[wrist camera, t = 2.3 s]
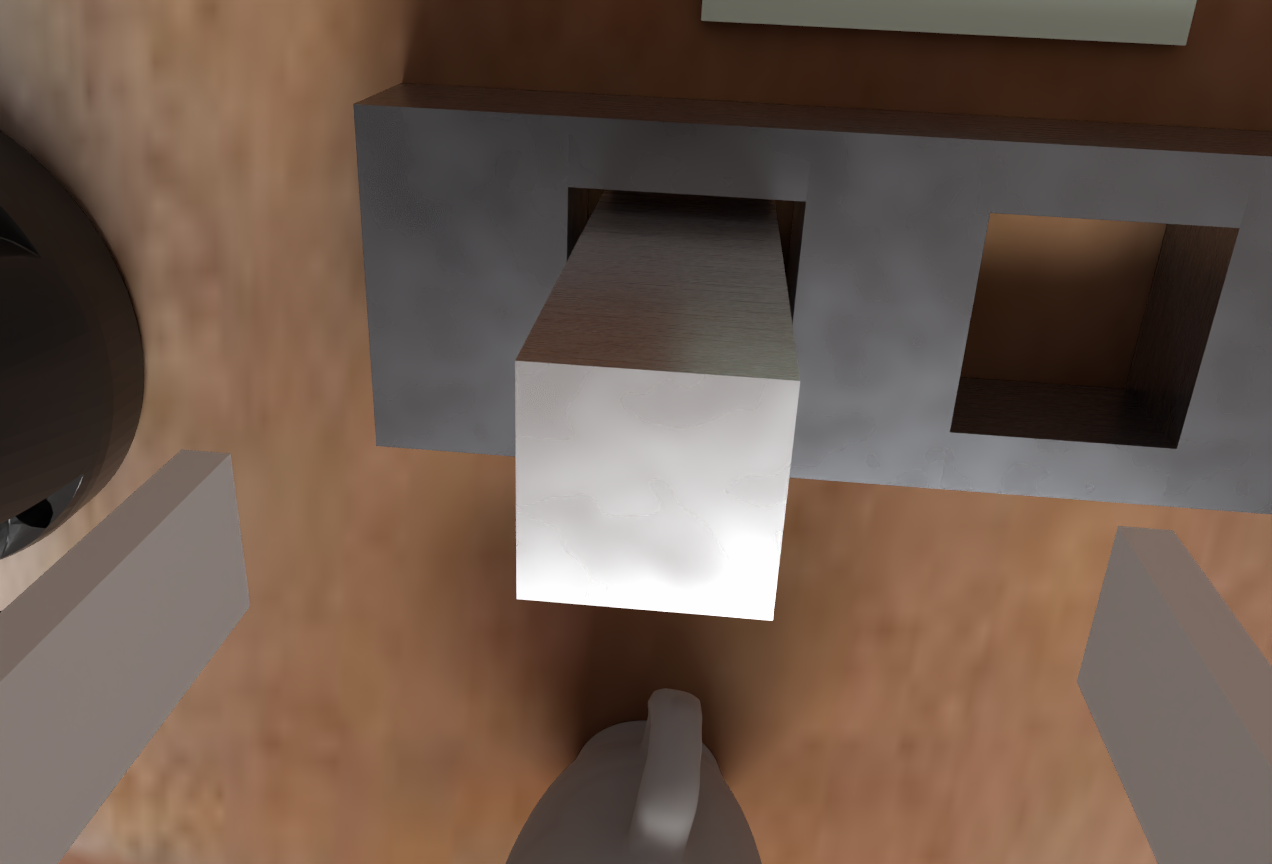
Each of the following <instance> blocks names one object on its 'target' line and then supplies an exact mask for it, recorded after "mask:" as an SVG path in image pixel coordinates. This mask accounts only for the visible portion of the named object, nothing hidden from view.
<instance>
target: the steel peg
mask: <svg viewBox="0 0 1272 864" xmlns="http://www.w3.org/2000/svg"><path fill="white" fill-rule="evenodd" d="M799 389H800V375H799V368H798V361H797V354H796V347H795V339H794V332H793V325H792V318H791V311H790V304H789V297H788V290H787V283H786V276H785V269H784V262H783V255H782V248H781V241H780V234H779V226H778V219H777V212H776V205H775V200H772V199H755V198H739V197H723V196H706V195H690V194H673V193H657V192H641V191H624V190H608V189H605V190H604V192H603V194H602V195H601V197H600V199H599V201H598V203H597V205H596V207H595V209H594V211H593V213H592V215H591V217H590V218H589V220H588V222H587V224H586V226H585V228H584V230H583V232H582V234H581V236H580V238H579V239H578V241H577V243H576V245H575V247H574V249H573V251H572V253H571V255H570V257H569V259H568V260H567V262H566V264H565V266H564V268H563V270H562V272H561V274H560V276H559V278H558V280H557V282H556V283H555V285H554V287H553V289H552V291H551V293H550V295H549V297H548V299H547V301H546V303H545V304H544V306H543V308H542V310H541V312H540V314H539V316H538V318H537V320H536V322H535V324H534V326H533V327H532V329H531V331H530V333H529V335H528V337H527V339H526V341H525V343H524V345H523V347H522V348H521V350H520V352H519V354H518V356H517V358H516V360H515V431H516V592H517V599H522V600H533V601H545V602H557V603H569V604H581V605H593V606H605V607H616V608H628V609H640V610H652V611H664V612H676V613H688V614H699V615H711V616H723V617H735V618H747V619H759V620H771V621H773V614H774V605H775V596H776V588H777V579H778V570H779V562H780V553H781V544H782V536H783V527H784V519H785V510H786V501H787V493H788V484H789V475H790V467H791V458H792V449H793V441H794V432H795V423H796V415H797V406H798V397H799Z"/></svg>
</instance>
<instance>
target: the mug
mask: <svg viewBox="0 0 1272 864" xmlns="http://www.w3.org/2000/svg"><path fill="white" fill-rule="evenodd" d="M506 864H762V863H761V860H760V856H759V853H758V850H757V847H756V843H755V840H754V838H753V835H752V832H751V830H750V827H749V825H748V822H747V820H746V818H745V816H744V814H743V811H742V809H741V807H740V805H739V804H738V802H737V800H736V798H735V796H734V795H733V793H732V791H731V790H730V788H729V787H728V785H727V784H726V782H725V781H724V779H723V777H722V775H721V772H720V769H719V766H718V764H717V761H716V759H715V758H714V756H713V754H712V753H711V752H710V750H709V749H708V748H707V747H706V746H705V745H704V744H703V743H702V711H701V705H700V700H699V699H698V698H696V697H695V696H694V695H692V694H691V693H688V692H684V691H680V690H674V689H667V688H663V689H660V690H656V691H654V692H653V694H652V695H651V697H650V699H649V701H648V719H647V721H644V720H639V721H629V722H623V723H619V724H616V725H613V726H610V727H608V728H606V729H604V730H602V731H600V732H599V733H597V734H596V735H594V736H593V737H592V738H591V739H590V740H589V741H588V742H587V743H586V744H585V745H584V747H583V748H582V749H581V751H580V753H579V755H578V756H577V758H576V759H575V760H574V761H573V762H572V763H571V764H570V765H569V766H568V767H567V768H566V769H565V770H564V771H563V772H562V773H561V774H560V775H559V776H558V778H557V779H556V780H555V781H554V782H553V783H552V784H551V786H550V787H549V788H548V790H547V791H546V792H545V794H544V795H543V796H542V798H541V799H540V800H539V802H538V803H537V805H536V806H535V808H534V809H533V811H532V813H531V814H530V816H529V818H528V820H527V821H526V823H525V825H524V827H523V828H522V830H521V832H520V834H519V836H518V838H517V840H516V842H515V844H514V846H513V848H512V850H511V853H510V855H509V857H508V859H507V862H506Z"/></svg>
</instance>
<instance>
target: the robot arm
mask: <svg viewBox="0 0 1272 864" xmlns="http://www.w3.org/2000/svg"><path fill="white" fill-rule="evenodd" d="M143 389H144V366H143V354H142V346H141V340H140V335H139V330H138V325H137V321H136V317H135V314H134V310H133V307H132V304H131V301H130V298H129V295H128V292H127V289H126V287H125V285H124V282H123V280H122V278H121V275H120V273H119V271H118V269H117V267H116V265H115V263H114V261H113V259H112V257H111V255H110V253H109V251H108V249H107V248H106V246H105V244H104V243H103V241H102V239H101V237H100V236H99V234H98V233H97V231H96V230H95V228H94V227H93V225H92V224H91V222H90V221H89V219H88V218H87V216H86V215H85V214H84V212H83V211H82V210H81V208H80V207H79V206H78V205H77V203H76V202H75V201H74V199H73V198H72V197H71V196H70V195H69V194H68V192H67V191H66V190H65V189H64V188H63V187H62V185H61V184H60V183H59V182H58V181H57V180H56V179H55V178H54V177H53V176H52V175H51V174H50V173H49V172H48V171H47V170H46V169H45V168H44V167H43V166H42V165H41V164H40V163H39V162H38V161H37V160H36V159H35V158H34V157H32V156H31V155H30V154H29V153H28V152H27V151H26V150H24V149H23V148H22V147H21V146H20V145H18V144H17V143H16V142H15V141H13V140H12V139H11V138H10V137H8V136H7V135H5V134H4V133H3V132H1V131H0V559H3V558H6V557H8V556H11V555H13V554H15V553H18V552H20V551H22V550H24V549H26V548H28V547H29V546H31V545H33V544H35V543H36V542H38V541H40V540H42V539H43V538H45V537H46V536H48V535H49V534H51V533H52V532H53V531H55V530H56V529H57V528H58V527H60V526H61V525H62V524H63V523H64V522H66V521H67V520H68V519H69V518H70V517H71V516H73V515H74V514H75V513H76V512H77V511H78V510H79V509H81V508H82V507H83V506H84V505H85V504H86V503H88V502H89V501H90V500H91V499H92V498H93V497H94V496H96V495H97V494H98V493H99V492H100V491H101V490H102V489H103V488H104V487H105V486H106V484H107V483H108V482H109V481H110V479H111V478H112V477H113V476H114V474H115V473H116V471H117V470H118V468H119V467H120V465H121V464H122V462H123V460H124V458H125V456H126V454H127V453H128V451H129V448H130V446H131V443H132V441H133V439H134V436H135V432H136V429H137V426H138V423H139V418H140V413H141V408H142V400H143ZM249 607H250V600H249V593H248V585H247V577H246V570H245V562H244V554H243V546H242V539H241V531H240V523H239V516H238V508H237V500H236V492H235V485H234V477H233V469H232V462H231V454H230V453H217V452H205V451H193V450H181V451H180V452H178V453H177V454H176V455H175V456H174V457H173V458H172V459H171V460H170V461H168V462H167V463H166V464H165V465H164V466H163V467H162V468H161V469H159V470H158V471H157V472H156V473H155V474H154V475H153V476H152V477H151V478H149V479H148V480H147V481H146V482H145V483H144V484H143V485H142V486H141V487H139V488H138V489H137V490H136V491H135V492H134V493H133V494H132V495H131V496H129V497H128V498H127V499H126V500H125V501H124V502H123V503H122V504H121V505H119V506H118V507H117V508H116V509H115V510H114V511H113V512H112V513H111V514H109V515H108V516H107V517H106V518H105V519H104V520H103V521H102V522H101V523H99V524H98V525H97V526H96V527H95V528H94V529H93V530H92V531H91V532H89V533H88V534H87V535H86V536H85V537H84V538H83V539H82V540H81V541H79V542H78V543H77V544H76V545H75V546H74V547H73V548H72V549H71V550H69V551H68V552H67V553H66V554H65V555H64V556H63V557H62V558H61V559H59V560H58V561H57V562H56V563H55V564H54V565H53V566H52V567H51V568H49V569H48V570H47V571H46V572H45V573H44V574H43V575H42V576H40V577H39V578H38V579H37V580H36V581H35V582H34V583H33V584H32V585H30V586H29V587H28V588H27V589H26V590H25V591H24V592H23V593H22V594H20V595H19V596H18V597H17V598H16V599H15V600H14V601H13V602H12V603H10V604H9V605H8V606H7V607H6V608H5V609H4V610H3V611H0V864H58V863H59V861H60V860H61V859H62V857H63V856H64V855H65V853H66V852H67V851H68V849H69V848H70V847H71V845H72V844H73V843H74V841H75V840H76V839H77V837H78V836H79V835H80V833H81V832H82V831H83V829H84V828H85V827H86V825H87V824H88V823H89V821H90V820H91V819H92V817H93V816H94V815H95V813H96V812H97V811H98V809H99V808H100V807H101V805H102V804H103V803H104V801H105V800H106V799H107V797H108V796H109V794H110V793H111V792H112V790H113V789H114V788H115V786H116V785H117V784H118V782H119V781H120V780H121V778H122V777H123V776H124V774H125V773H126V772H127V770H128V769H129V768H130V766H131V765H132V764H133V762H134V761H135V760H136V758H137V757H138V756H139V754H140V753H141V752H142V750H143V749H144V748H145V746H146V745H147V744H148V742H149V741H150V740H151V738H152V737H153V736H154V734H155V733H156V732H157V730H158V729H159V728H160V726H161V725H162V724H163V722H164V721H165V720H166V718H167V717H168V716H169V714H170V713H171V712H172V710H173V709H174V707H175V706H176V705H177V703H178V702H179V701H180V699H181V698H182V697H183V695H184V694H185V693H186V691H187V690H188V689H189V687H190V686H191V685H192V683H193V682H194V681H195V679H196V678H197V677H198V675H199V674H200V673H201V671H202V670H203V669H204V667H205V666H206V665H207V663H208V662H209V661H210V659H211V658H212V657H213V655H214V654H215V653H216V651H217V650H218V649H219V647H220V646H221V645H222V643H223V642H224V641H225V639H226V638H227V637H228V635H229V634H230V633H231V631H232V630H233V629H234V627H235V626H236V625H237V623H238V622H239V621H240V619H241V618H242V616H243V615H244V614H245V612H246V611H247V610H248V608H249ZM1077 683H1078V685H1079V687H1080V690H1081V692H1082V694H1083V696H1084V699H1085V701H1086V703H1087V705H1088V708H1089V710H1090V712H1091V714H1092V717H1093V719H1094V721H1095V723H1096V726H1097V728H1098V730H1099V732H1100V735H1101V737H1102V739H1103V741H1104V744H1105V746H1106V748H1107V750H1108V753H1109V755H1110V757H1111V759H1112V762H1113V764H1114V766H1115V768H1116V771H1117V773H1118V775H1119V777H1120V780H1121V782H1122V784H1123V786H1124V789H1125V791H1126V793H1127V795H1128V798H1129V800H1130V802H1131V804H1132V806H1133V809H1134V811H1135V813H1136V815H1137V818H1138V820H1139V822H1140V824H1141V827H1142V829H1143V831H1144V833H1145V836H1146V838H1147V840H1148V842H1149V845H1150V847H1151V849H1152V851H1153V854H1154V856H1155V858H1156V860H1157V863H1158V864H1272V666H1271V665H1270V664H1269V662H1268V661H1267V659H1266V658H1265V657H1264V655H1263V654H1262V653H1261V651H1260V650H1259V648H1258V647H1257V646H1256V644H1255V643H1254V641H1253V640H1252V639H1251V637H1250V636H1249V635H1248V633H1247V632H1246V630H1245V629H1244V628H1243V626H1242V625H1241V623H1240V622H1239V621H1238V619H1237V618H1236V617H1235V615H1234V614H1233V612H1232V611H1231V610H1230V608H1229V607H1228V605H1227V604H1226V603H1225V601H1224V600H1223V599H1222V597H1221V596H1220V594H1219V593H1218V592H1217V590H1216V589H1215V588H1214V586H1213V585H1212V583H1211V582H1210V581H1209V579H1208V578H1207V576H1206V575H1205V574H1204V572H1203V571H1202V570H1201V568H1200V567H1199V565H1198V564H1197V563H1196V561H1195V560H1194V558H1193V557H1192V556H1191V554H1190V553H1189V552H1188V550H1187V549H1186V547H1185V546H1184V545H1183V543H1182V542H1181V540H1180V539H1179V538H1178V536H1177V535H1176V534H1175V532H1174V531H1173V530H1161V529H1149V528H1137V527H1125V526H1118V529H1117V533H1116V536H1115V540H1114V544H1113V548H1112V551H1111V555H1110V559H1109V563H1108V567H1107V570H1106V574H1105V578H1104V582H1103V585H1102V589H1101V593H1100V597H1099V600H1098V604H1097V608H1096V612H1095V615H1094V619H1093V623H1092V627H1091V631H1090V634H1089V638H1088V642H1087V646H1086V649H1085V653H1084V657H1083V661H1082V664H1081V668H1080V672H1079V676H1078V679H1077Z"/></svg>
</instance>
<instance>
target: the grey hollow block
mask: <svg viewBox="0 0 1272 864" xmlns="http://www.w3.org/2000/svg"><path fill="white" fill-rule="evenodd" d="M354 119H355V134H356V149H357V164H358V178H359V193H360V208H361V223H362V238H363V253H364V268H365V283H366V297H367V312H368V327H369V342H370V357H371V372H372V387H373V401H374V416H375V431H376V446H385V447H398V448H411V449H424V450H438V451H451V452H464V453H477V454H490V455H503V456H516V431H515V360H516V358H517V356H518V354H519V352H520V350H521V348H522V347H523V345H524V343H525V341H526V339H527V337H528V335H529V333H530V331H531V329H532V327H533V326H534V324H535V322H536V320H537V318H538V316H539V314H540V312H541V310H542V308H543V306H544V304H545V303H546V301H547V299H548V297H549V295H550V293H551V291H552V289H553V287H554V285H555V283H556V282H557V280H558V278H559V276H560V274H561V272H562V270H563V268H564V266H565V264H566V262H567V260H568V259H569V257H570V255H571V253H572V251H573V249H574V247H575V245H576V243H577V241H578V239H579V238H580V236H581V234H582V232H583V230H584V228H585V226H586V224H587V215H588V188H592V189H608V190H624V191H641V192H657V193H673V194H690V195H706V196H723V197H739V198H755V199H772V200H788V201H794V207H793V217H792V226H791V236H790V245H789V255H788V265H787V274H786V283H787V290H788V297H789V304H790V311H791V318H792V325H793V332H794V339H795V347H796V354H797V361H798V368H799V375H800V389H799V397H798V406H797V415H796V423H795V432H794V441H793V449H792V458H791V467H790V475H789V477H790V478H804V479H817V480H830V481H843V482H856V483H869V484H882V485H895V486H908V487H921V488H934V489H947V490H960V491H973V492H987V493H1000V494H1013V495H1026V496H1039V497H1052V498H1065V499H1078V500H1091V501H1104V502H1117V503H1130V504H1143V505H1156V506H1170V507H1183V508H1196V509H1209V510H1222V511H1235V512H1248V513H1261V514H1272V132H1270V131H1252V130H1234V129H1216V128H1198V127H1180V126H1162V125H1144V124H1126V123H1108V122H1090V121H1072V120H1054V119H1036V118H1019V117H1001V116H983V115H965V114H947V113H929V112H911V111H893V110H875V109H857V108H839V107H821V106H803V105H785V104H767V103H749V102H731V101H713V100H695V99H677V98H659V97H641V96H623V95H605V94H587V93H569V92H551V91H533V90H516V89H498V88H480V87H462V86H444V85H426V84H408V83H401V84H398V85H396V86H394V87H391V88H389V89H387V90H385V91H382V92H380V93H378V94H376V95H373V96H371V97H369V98H366V99H364V100H362V101H360V102H357V103H355V104H354ZM990 213H1001V214H1018V215H1034V216H1050V217H1067V218H1083V219H1099V220H1116V221H1132V222H1149V223H1165V224H1167V228H1166V232H1165V235H1164V239H1163V243H1162V247H1161V251H1160V255H1159V259H1158V263H1157V267H1156V271H1155V275H1154V279H1153V283H1152V286H1151V290H1150V294H1149V298H1148V302H1147V306H1146V310H1145V314H1144V318H1143V322H1142V326H1141V330H1140V333H1139V337H1138V341H1137V345H1136V349H1135V353H1134V357H1133V361H1132V365H1131V369H1130V373H1129V377H1128V381H1127V384H1126V388H1125V389H1121V388H1106V387H1092V386H1078V385H1064V384H1049V383H1035V382H1021V381H1007V380H992V379H978V378H964V377H960V374H961V368H962V363H963V357H964V352H965V346H966V341H967V335H968V330H969V325H970V319H971V314H972V308H973V303H974V297H975V292H976V286H977V281H978V275H979V270H980V264H981V259H982V254H983V248H984V243H985V237H986V232H987V226H988V221H989V215H990Z"/></svg>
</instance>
